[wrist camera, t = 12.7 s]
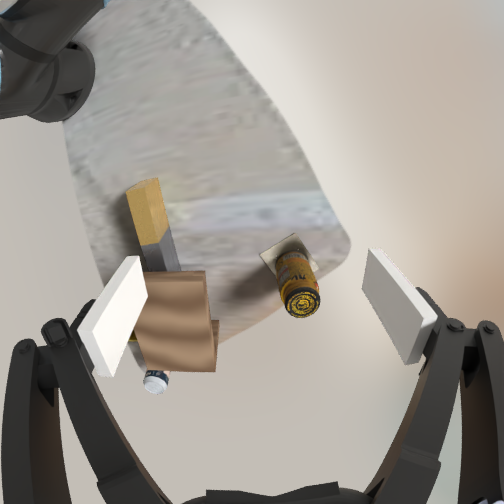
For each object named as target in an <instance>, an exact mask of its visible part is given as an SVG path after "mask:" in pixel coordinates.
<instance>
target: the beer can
mask: <svg viewBox="0 0 504 504" xmlns="http://www.w3.org/2000/svg"><path fill="white" fill-rule="evenodd" d="M170 372H171V371H160V370H148V368H147V371H146V374H145V378H144V380H143V383H144V386H145V388H146V390H148V391H149V392H151V393H155V394H161V393H163V392H164V391H165V390H166V389H167V385H168V380H169V376H170Z"/></svg>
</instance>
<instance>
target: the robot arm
mask: <svg viewBox="0 0 504 504" xmlns="http://www.w3.org/2000/svg"><path fill="white" fill-rule="evenodd" d="M109 1H110V0H0V119H5V118H11V117H17V116H23V115H27V116H29V117H31V118H34V119H36V120H38V121H41V122H46V123H50V122H58V121H62V120H65V119H67V118H69V117H70V116H72V115H73V114H74V113H76V112H77V111H78V110H79V109H80V107H81V106H82V105H83V104H84V102H85V101H86V99H87V97H88V96H89V94H90V91H91V89H92V86H93V82H94V77H95V63H94V58H93V56H92V54H91V52H90V50H89V49H88V48H87V47H86V46H85V45H83V44H81V43H79V42H76V41H72V40H71V39H72V38H73V37H74V36H75V35H76V34H77V33H78V32H79V31H80V29H81V28H82V27H83V26H84V25H85V24H86V23H87V22H88V21H89V20H90V19H91V18H92V17H93V16H94V15H95V14H96V13H97V12H98V11H99V10H100V9H104V8H105V7H106V5H107V3H108V2H109ZM362 290H363V292H364V293H365V295H366V297H367V298H368V300H369V302H370V303H371V305H372V307H373V309H374V310H375V312H376V314H377V315H378V317H379V319H380V321H381V322H382V324H383V326H384V327H385V329H386V331H387V333H388V335H389V336H390V338H391V340H392V342H393V344H394V346H395V347H396V349H397V351H398V353H399V355H400V357H401V358H402V360H403V362H404V364H405V365H409V364H414V363H418V362H419V360H420V358H421V355H422V354H424V356H425V357H426V361H425V362H424V364H423V366H422V369H421V371H420V373H419V375H420V377H419V379H418V382H417V385H416V388H415V391H414V393H413V396H412V398H411V401H410V404H409V406H408V409H407V411H406V414H405V416H404V418H403V421H402V423H401V425H400V427H399V430H398V432H397V434H396V436H395V438H394V440H393V442H392V444H391V447H390V448H389V450H388V453H387V454H386V456H385V458H384V460H383V463H382V464H381V466H380V468H379V470H378V471H377V473H376V475H375V477H374V478H373V480H372V482H371V483H370V484H369V485H368V487H367V488H366V490H365V491H364V493H362V492H359V491H356V490H353V489H347V488H339V486H338V482H331V483H325V484H319V485H312V486H306V487H303V488H300V489H297V490H294V491H291V492H288V493H284V494H281V495H278V496H265V495H259V494H254V493H248V492H243V491H229V490H228V491H227V490H226V491H225V490H206V496H202V497H198V498H194V499H191V500H189V501H186V502H184V503H182V504H426V503H427V500H428V498H429V496H430V494H431V491H432V489H433V486H434V484H435V481H436V479H437V476H438V474H439V471H440V467H441V462H439V461H438V458H439V454H440V451H441V449H442V445H443V442H444V439H445V435H446V432H447V429H448V425H449V422H450V418H451V414H452V410H453V406H454V402H455V398H456V393H457V388H458V383H459V380H460V393H461V410H462V454H461V472H460V483H459V493H458V504H504V341H503V338H502V335H501V332H500V330H499V328H498V327H497V326H496V325H495V324H494V323H492V322H490V321H481V322H480V323H479V324H478V327H477V329H467V328H466V327H465V325H464V324H463V323H462V322H461V321H459V320H457V319H453V318H447V316H446V315H445V314H444V313H443V312H442V310H441V309H440V308H439V307H438V305H437V304H435V302H434V301H433V299H431V297H430V296H429V295H428V293H427V292H425V291H424V290H422V289H421V288H419V287H416V288H415V287H414V286H413V285H412V284H411V283H410V281H409V280H408V279H407V278H406V277H405V275H404V274H403V273H402V272H401V271H400V270H399V269H398V268H397V266H396V265H395V264H394V263H393V262H392V261H391V260H390V258H389V257H388V256H387V255H386V254H385V253H384V252H383V251H382V250H381V248H369V250H368V256H367V262H366V268H365V274H364V280H363V285H362ZM147 297H148V294H147V290H146V286H145V281H144V277H143V272H142V268H141V263H140V258H139V256H127V257H126V258H125V260H124V261H123V262H122V264H121V265H120V267H119V268H118V269H117V271H116V272H115V274H114V275H113V276H112V278H111V279H110V281H109V282H108V284H107V285H106V286H105V288H104V289H103V291H102V292H101V294H100V295H99V297H98V298H97V299H92V300H90V301H89V302H88V303H86V304H85V305H84V307H83V308H82V309H81V311H80V313H79V314H78V315H77V318H75V320H74V321H73V323H72V324H71V326H70V327H69V326H68V324H67V322H66V320H65V319H62V318H55V319H52V320H50V321H48V322H47V323H46V324H45V325H43V327H42V329H41V333H42V336H43V338H44V340H45V341H46V343H47V346H39V347H37V345H36V343H35V342H34V340H32V339H24V340H21V341H20V342H18V343H17V344H16V345H15V347H14V349H13V353H12V357H11V363H10V368H9V374H8V380H7V386H6V394H5V402H4V411H3V423H2V443H1V444H2V445H1V469H2V488H3V500H4V504H72V502H71V498H70V493H69V488H68V483H67V477H66V471H65V465H64V458H63V450H62V441H61V432H60V431H61V430H60V417H59V395H58V394H59V391H58V388H60V390H61V393H62V396H63V399H64V402H65V405H66V408H67V410H68V413H69V416H70V419H71V421H72V424H73V426H74V429H75V431H76V434H77V436H78V439H79V441H80V443H81V445H82V448H83V450H84V452H85V454H86V456H87V458H88V461H89V463H90V465H91V467H92V469H93V471H94V473H95V474H96V476H97V479H98V482H97V487H98V489H99V491H100V493H101V495H102V497H103V499H104V500H105V502H106V504H173V503H172V502H171V501H170V500H169V499H168V498H167V496H166V495H165V494H164V493H163V492H162V490H161V489H160V488H159V487H158V485H157V484H156V483H155V481H154V480H153V478H152V477H151V476H150V474H149V473H148V471H147V470H146V468H145V467H144V466H143V464H142V463H141V462H140V460H139V458H138V457H137V455H136V453H135V452H134V450H133V449H132V447H131V446H130V444H129V442H128V441H127V439H126V437H125V436H124V434H123V432H122V431H121V429H120V427H119V425H118V424H117V422H116V420H115V418H114V417H113V415H112V413H111V411H110V409H109V408H108V406H107V403H106V402H105V400H104V398H103V396H102V394H101V392H100V390H99V388H98V386H97V383H96V381H95V379H94V377H93V375H92V371H93V369H94V367H95V369H96V371H97V373H98V375H99V376H105V377H113V376H114V374H115V371H116V369H117V366H118V364H119V361H120V359H121V356H122V354H123V352H124V349H125V347H126V345H127V342H128V340H129V338H130V335H131V333H132V331H133V328H134V326H135V324H136V322H137V319H138V317H139V315H140V313H141V310H142V308H143V306H144V304H145V302H146V299H147Z"/></svg>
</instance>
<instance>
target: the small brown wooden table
mask: <svg viewBox="0 0 504 504" xmlns="http://www.w3.org/2000/svg"><path fill="white" fill-rule="evenodd" d="M143 277H144V281H145V286H146V290H147V294H148V297H147V299H146V302H145V304H144V306H143V308H142V310H141V313H140V315H139V317H138V319H137V322H136V324H135V326H134V331H135V334H136V337H137V340H138V343H139V346H140V349H141V352H142V355H143V358H144V360H145V363H146V366H147V368H148V370H160V371H183V372H215V369H216V359H217V347H218V337H219V320H211V317H210V310H209V302H208V294H207V285H206V276H205V271H169V272H143Z"/></svg>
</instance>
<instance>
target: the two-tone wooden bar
mask: <svg viewBox="0 0 504 504" xmlns="http://www.w3.org/2000/svg"><path fill="white" fill-rule="evenodd" d="M126 195H127V199H128V203H129V207H130V210H131V214H132V218H133V221H134V225H135V228H136V232H137V235H138V239H139V242H140V245H141V248H142V252H143V255H144V258H145V261H146V264H147V267H148V270H149V272H169V271H181V268H180V264H179V260H178V257H177V253H176V249H175V246H174V242H173V238H172V234H171V231H170V227H169V223H168V219H167V215H166V211H165V206H164V202H163V198H162V194H161V190H160V185H159V181H158V177H157V178H153V179H148V180H144V181H141V182H139V183H138V184H136V185H135V186H133V187H132V188H130V189H129V190H127V191H126Z"/></svg>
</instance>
